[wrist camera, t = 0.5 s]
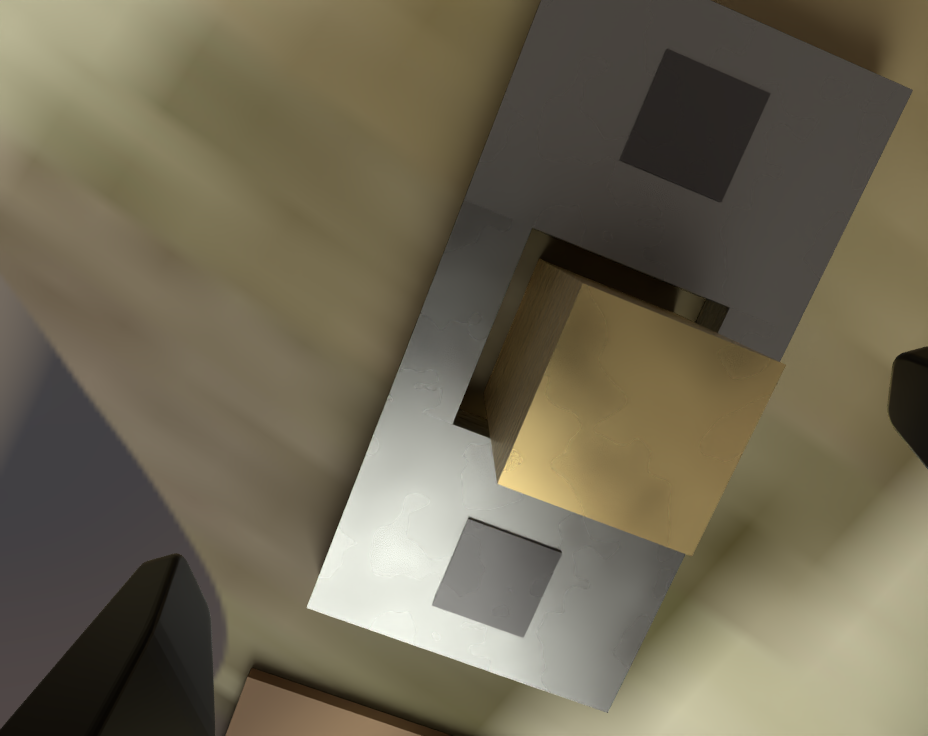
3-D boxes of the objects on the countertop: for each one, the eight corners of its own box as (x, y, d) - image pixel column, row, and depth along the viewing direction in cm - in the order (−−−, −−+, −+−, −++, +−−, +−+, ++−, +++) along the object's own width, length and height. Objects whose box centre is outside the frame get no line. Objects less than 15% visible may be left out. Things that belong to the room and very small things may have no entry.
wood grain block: (673, 312, 23) (786, 365, 15) (614, 443, 24) (691, 556, 16) (538, 258, 23) (582, 283, 15) (483, 393, 23) (497, 483, 16)
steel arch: (871, 101, 22) (914, 89, 20) (596, 674, 25) (608, 714, 23) (555, -39, 21) (566, -66, 19) (318, 576, 25) (306, 609, 23)
